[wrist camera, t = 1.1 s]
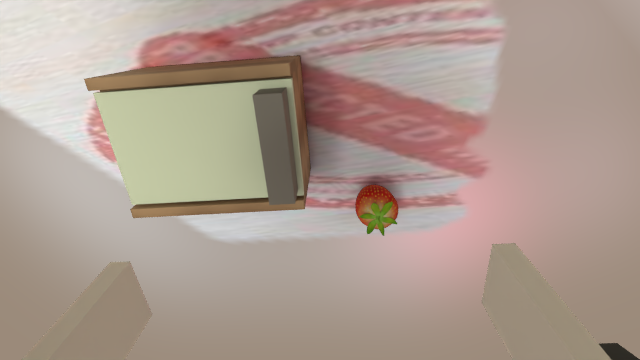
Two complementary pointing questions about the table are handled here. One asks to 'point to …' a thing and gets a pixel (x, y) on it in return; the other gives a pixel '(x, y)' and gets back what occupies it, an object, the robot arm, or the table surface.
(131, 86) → the box
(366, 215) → the fruit
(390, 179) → the table surface
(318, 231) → the table surface
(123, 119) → the lid
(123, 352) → the robot arm
